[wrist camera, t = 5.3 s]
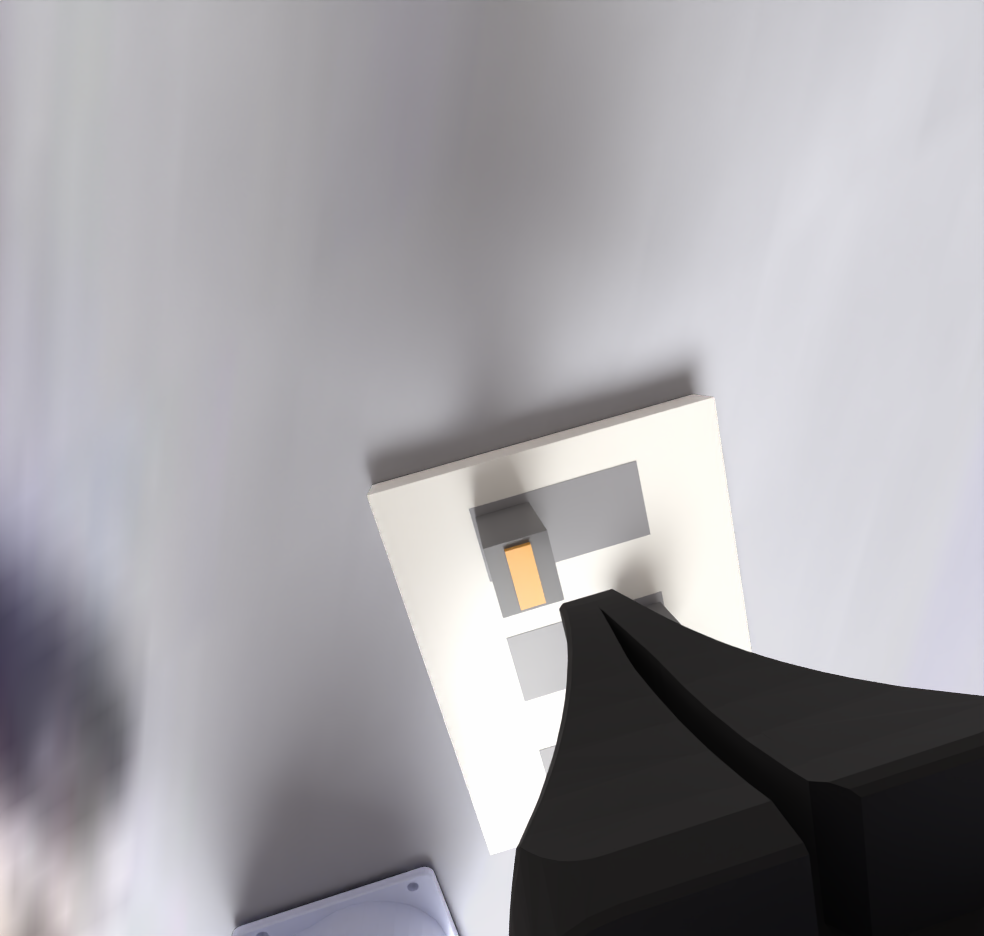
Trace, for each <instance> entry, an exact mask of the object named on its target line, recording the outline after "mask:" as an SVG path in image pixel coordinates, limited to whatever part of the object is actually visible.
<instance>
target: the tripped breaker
mask: <svg viewBox="0 0 984 936" xmlns="http://www.w3.org/2000/svg"><path fill="white" fill-rule="evenodd" d="M475 518H476V522H477V526H478V530H479V535H480V539H481V543H482V547H483V551H484V554H485V558H486V561H487V564H488V568H489V571H490V575H491V578H492V582H493V585H494V589H495V592H496V596H497V599H498V603H499V606H500V609H501V613H502V616H503V618H506V617H509V616H512V615H516V614H519V613H522V612H526V611H529V610H532V609H536V608H539V607H542V606H546V605H549V604H552V603H556V602H559V601H562V600H564V596H563V592H562V588H561V584H560V580H559V576H558V572H557V568H556V564H555V560H554V556H553V552H552V548H551V544H550V540H549V536H548V532H547V529H546V528H545V526H544V525H543V523H542V522H541V520H540V519H539V517H538V515H537V514H536V512H535V511H534V509H533V508H532V506H531V505H530V503H529V502H525V503H522V504H518V505H515V506H512V507H508V508H505V509H501V510H498V511H494V512H491V513H487V514H484V515H480V516H477V517H475Z"/></svg>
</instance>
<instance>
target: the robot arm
mask: <svg viewBox="0 0 984 936" xmlns="http://www.w3.org/2000/svg"><path fill="white" fill-rule="evenodd" d="M559 612H560V616H561V620H562V624H563V628H564V632H565V636H566V640H567V651H568V664H567V683H566V693H565V701H564V707H563V714H562V719H561V724H560V728H559V733H558V737H557V742H556V746H555V750H554V753H553V757H552V760H551V763H550V766H549V769H548V772H547V775H546V778H545V781H544V784H543V787H542V790H541V793H540V796H539V798H538V801H537V803H536V806H535V808H534V810H533V813H532V815H531V817H530V819H529V822H528V824H527V826H526V828H525V830H524V833H523V835H522V837H521V839H520V842H519V844H518V846H517V848H516V855H515V863H514V872H513V881H512V892H511V904H510V920H509V936H984V696H978V695H970V694H961V693H952V692H944V691H935V690H926V689H918V688H909V687H901V686H895V685H889V684H883V683H877V682H871V681H866V680H860V679H854V678H849V677H844V676H839V675H835V674H830V673H825V672H821V671H817V670H813V669H809V668H805V667H801V666H797V665H793V664H789V663H785V662H781V661H778V660H774V659H771V658H767V657H764V656H761V655H758V654H755V653H752V652H749V651H746V650H743V649H740V648H737V647H734V646H731V645H729V644H726V643H723V642H721V641H718V640H716V639H713V638H711V637H708V636H706V635H704V634H701V633H699V632H697V631H694V630H692V629H690V628H687V627H685V626H683V625H681V624H679V623H677V622H675V621H672V620H670V619H668V618H666V617H664V616H662V615H660V614H658V613H656V612H655V611H653V610H651V609H649V608H647V607H645V606H643V605H641V604H639V603H638V602H636V601H634V600H632V599H630V598H628V597H627V596H625V595H623V594H621V593H619V592H617V591H615V590H613V589H610V590H606V591H603V592H600V593H596V594H593V595H589V596H586V597H583V598H579V599H576V600H572V601H569V602H566V603H562V605H561V607H560V608H559ZM232 936H459V935H458V933H457V930H456V928H455V925H454V922H453V920H452V917H451V915H450V912H449V910H448V907H447V904H446V902H445V899H444V897H443V894H442V891H441V889H440V886H439V884H438V881H437V879H436V876H435V873H434V871H433V870H432V869H431V868H429V867H420V868H417V869H414V870H411V871H408V872H405V873H402V874H399V875H396V876H393V877H390V878H386V879H383V880H380V881H377V882H374V883H371V884H368V885H365V886H362V887H359V888H356V889H353V890H350V891H346V892H343V893H340V894H337V895H334V896H331V897H328V898H325V899H322V900H319V901H316V902H313V903H310V904H306V905H303V906H300V907H297V908H294V909H291V910H288V911H285V912H282V913H279V914H276V915H273V916H270V917H267V918H263V919H260V920H257V921H254V922H251V923H248V924H245V925H242V926H239V927H237V928H236V929H235V930H234V931H233V933H232Z"/></svg>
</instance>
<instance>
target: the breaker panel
mask: <svg viewBox="0 0 984 936" xmlns="http://www.w3.org/2000/svg"><path fill="white" fill-rule="evenodd" d="M367 498H368V501H369V504H370V507H371V510H372V513H373V516H374V518H375V521H376V524H377V527H378V530H379V533H380V536H381V539H382V542H383V545H384V547H385V550H386V553H387V556H388V559H389V562H390V565H391V568H392V571H393V574H394V577H395V579H396V582H397V585H398V588H399V591H400V594H401V597H402V600H403V603H404V606H405V608H406V611H407V614H408V617H409V620H410V623H411V626H412V629H413V632H414V635H415V637H416V640H417V643H418V646H419V649H420V652H421V655H422V658H423V661H424V664H425V666H426V669H427V672H428V675H429V678H430V681H431V684H432V687H433V690H434V693H435V696H436V698H437V701H438V704H439V707H440V710H441V713H442V716H443V719H444V722H445V725H446V727H447V730H448V733H449V736H450V739H451V742H452V745H453V748H454V751H455V754H456V756H457V759H458V762H459V765H460V768H461V771H462V774H463V777H464V780H465V783H466V786H467V788H468V791H469V794H470V797H471V800H472V803H473V806H474V809H475V812H476V815H477V817H478V820H479V823H480V826H481V829H482V832H483V835H484V838H485V841H486V844H487V846H488V849H489V852H490V855H492V854H495V853H499V852H502V851H505V850H508V849H511V848H514V847H517V846H518V844H519V842H520V839H521V837H522V835H523V833H524V830H525V828H526V826H527V824H528V822H529V819H530V817H531V815H532V813H533V810H534V808H535V806H536V803H537V801H538V798H539V796H540V793H541V790H542V787H543V784H544V781H545V778H546V775H547V772H548V769H549V766H550V763H551V760H552V757H553V753H554V750H555V746H556V742H557V737H558V733H559V728H560V724H561V719H562V714H563V707H564V701H565V693H566V683H567V664H568V651H567V640H566V636H565V632H564V628H563V624H562V620H561V616H560V612H559V608H560V607H561V605H562V603H566V602H569V601H572V600H576V599H579V598H583V597H586V596H589V595H593V594H596V593H600V592H603V591H606V590H610V589H613V590H615V591H617V592H619V593H621V594H623V595H625V596H627V597H628V598H630V599H632V600H634V601H636V602H638V603H639V604H641V605H643V606H645V607H647V608H649V609H651V610H653V611H655V612H656V613H658V614H660V615H662V616H664V617H666V618H668V619H670V620H672V621H675V622H677V623H679V624H681V625H683V626H685V627H687V628H690V629H692V630H694V631H697V632H699V633H701V634H704V635H706V636H708V637H711V638H713V639H716V640H718V641H721V642H723V643H726V644H729V645H731V646H734V647H737V648H740V649H743V650H746V651H749V652H752V651H751V644H750V637H749V631H748V624H747V617H746V610H745V603H744V596H743V590H742V583H741V576H740V569H739V562H738V556H737V549H736V542H735V535H734V528H733V521H732V515H731V508H730V501H729V494H728V487H727V480H726V474H725V467H724V460H723V453H722V446H721V439H720V433H719V426H718V419H717V412H716V405H715V398H714V397H710V396H702V395H695V394H692V395H688V396H685V397H681V398H678V399H674V400H671V401H667V402H664V403H660V404H657V405H653V406H650V407H646V408H643V409H639V410H635V411H632V412H628V413H625V414H621V415H618V416H614V417H611V418H607V419H604V420H600V421H597V422H593V423H590V424H586V425H582V426H579V427H575V428H572V429H568V430H565V431H561V432H558V433H554V434H551V435H547V436H544V437H540V438H537V439H533V440H529V441H526V442H522V443H519V444H515V445H512V446H508V447H505V448H501V449H498V450H494V451H491V452H487V453H484V454H480V455H476V456H473V457H469V458H466V459H462V460H459V461H455V462H452V463H448V464H445V465H441V466H438V467H434V468H431V469H427V470H423V471H420V472H416V473H413V474H409V475H406V476H402V477H399V478H395V479H392V480H388V481H385V482H381V483H378V484H374V485H372V487H371V489H370V490H369V492H368V494H367ZM525 502H529V503H530V505H531V506H532V508H533V509H534V511H535V512H536V514H537V515H538V517H539V519H540V520H541V522H542V523H543V525H544V526H545V528H546V529H547V532H548V536H549V540H550V544H551V548H552V552H553V556H554V560H555V564H556V568H557V572H558V576H559V580H560V584H561V588H562V592H563V596H564V600H562V601H559V602H556V603H552V604H549V605H546V606H542V607H539V608H536V609H532V610H529V611H526V612H522V613H519V614H516V615H512V616H509V617H506V618H503V616H502V613H501V609H500V606H499V603H498V599H497V596H496V592H495V589H494V585H493V582H492V578H491V575H490V571H489V568H488V564H487V561H486V558H485V554H484V551H483V547H482V543H481V539H480V535H479V530H478V526H477V522H476V518H475V517H477V516H480V515H484V514H487V513H491V512H494V511H498V510H501V509H505V508H508V507H512V506H515V505H518V504H522V503H525Z"/></svg>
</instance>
